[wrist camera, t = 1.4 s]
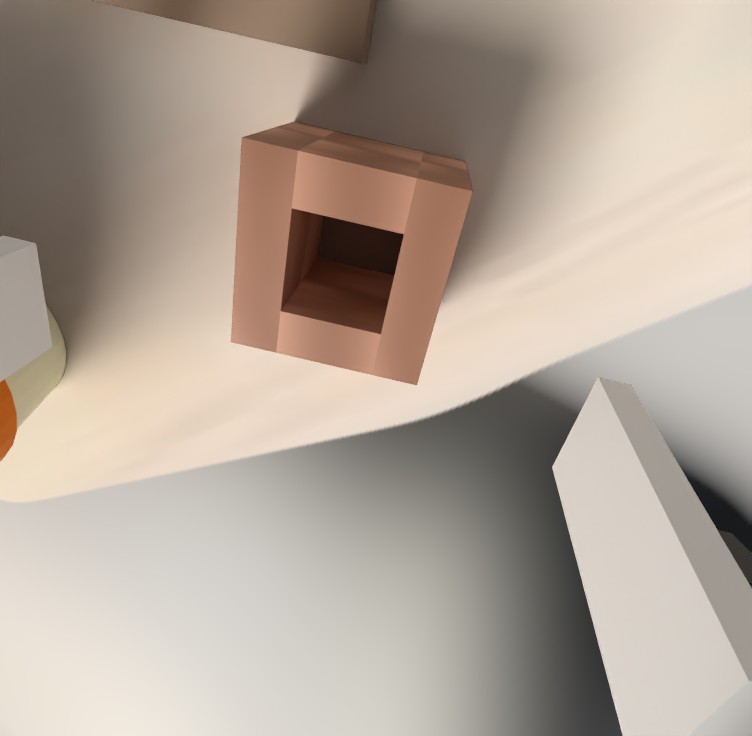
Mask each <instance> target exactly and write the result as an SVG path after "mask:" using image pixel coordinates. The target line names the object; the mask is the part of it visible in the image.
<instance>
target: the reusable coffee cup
mask: <svg viewBox="0 0 752 736" xmlns="http://www.w3.org/2000/svg"><path fill="white" fill-rule="evenodd" d="M46 309H47V316H48V322H49V328H50V335H51V341H52V348H50V349H49V350H47V351H46V352H44V353H43V354H41V355H40V356H38V357H37V358H35V359H34V360H32V361H31V362H29V363H28V364H26V365H25V366H23V367H22V368H20V369H19V370H17V371H16V372H14V373H13V374H11V375H10V376H8V377H7V378H5V379H4V380H2V381H1V382H0V461H1V460H2V459H3V458H4V457H5V455H6V454H7V452H8V451H9V449H10V448H11V447H12V445H13V442H14V439H15V435H16V432H17V428H18V427H19V426H20V425H21V424H22V423H23V422H24V421H25V420H26V419H27V417H28V416H29V415H30V414H31V413H32V412H33V411H34V410H35V409H36V408H37V406H38V405H39V404H40V403H41V402H42V401H43V400H44V399H45V398H46V397H47V395H48V394H49V393H50V392H51V391H52V390H53V389H54V388H55V387H56V385H57V384H58V383H59V381H60V380H61V378H62V376H63V373H64V370H65V367H66V348H65V343H64V338H63V336H62V333H61V331H60V328H59V325H58V323H57V321H56V320H55V318H54V316H53V315H52V313H51V311H50V310H49V308H48V307H47V306H46Z"/></svg>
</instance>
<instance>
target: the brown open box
mask: <svg viewBox="0 0 752 736" xmlns="http://www.w3.org/2000/svg"><path fill="white" fill-rule="evenodd" d="M472 192H473V190H472V186H471V182H470V178H469V174H468V171H467V167H466V163H465V161H461V160H456V159H452V158H448V157H443V156H439V155H435V154H430V153H426V152H422V151H418V150H413V149H409V148H405V147H400V146H396V145H392V144H388V143H383V142H379V141H375V140H370V139H366V138H362V137H357V136H353V135H349V134H345V133H340V132H336V131H332V130H327V129H323V128H319V127H314V126H310V125H306V124H302V123H297V122H291V123H288V124H285V125H282V126H278V127H275V128H272V129H268V130H265V131H262V132H259V133H255V134H252V135H249V136H245V137H242V145H241V164H240V183H239V201H238V220H237V239H236V257H235V276H234V295H233V314H232V332H231V342H233V343H237V344H242V345H246V346H250V347H254V348H259V349H263V350H267V351H272V352H276V353H280V354H285V355H289V356H293V357H297V358H302V359H306V360H310V361H315V362H319V363H323V364H328V365H332V366H336V367H340V368H345V369H349V370H353V371H358V372H362V373H366V374H371V375H375V376H379V377H383V378H388V379H392V380H396V381H401V382H405V383H409V384H414V385H417V383H418V379H419V376H420V372H421V369H422V365H423V362H424V358H425V355H426V351H427V348H428V345H429V341H430V338H431V334H432V331H433V327H434V324H435V320H436V317H437V313H438V310H439V306H440V303H441V300H442V296H443V293H444V289H445V286H446V282H447V279H448V275H449V272H450V268H451V265H452V261H453V258H454V255H455V251H456V248H457V244H458V241H459V237H460V234H461V230H462V227H463V223H464V220H465V216H466V213H467V210H468V206H469V203H470V199H471V196H472ZM323 216H328V217H332V218H336V219H340V220H345V221H349V222H353V223H358V224H362V225H366V226H370V227H375V228H379V229H383V230H388V231H392V232H396V233H401V234H404V236H403V240H402V245H401V249H400V253H399V258H398V262H397V266H396V271H395V275H390V274H385V273H381V272H377V271H373V270H368V269H364V268H360V267H355V266H351V265H347V264H342V263H338V262H334V261H330V260H325V259H321V258H318V252H319V245H320V238H321V231H322V224H323Z"/></svg>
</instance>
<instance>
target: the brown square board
mask: <svg viewBox="0 0 752 736" xmlns="http://www.w3.org/2000/svg"><path fill="white" fill-rule="evenodd" d="M92 1H97V2H101V3H105V4H110V5H114V6H118V7H123V8H127V9H131V10H135V11H140V12H144V13H148V14H153V15H157V16H161V17H166V18H170V19H174V20H178V21H183V22H187V23H191V24H196V25H200V26H204V27H208V28H213V29H217V30H221V31H226V32H230V33H234V34H239V35H243V36H247V37H251V38H256V39H260V40H264V41H269V42H273V43H277V44H281V45H286V46H290V47H294V48H299V49H303V50H307V51H312V52H316V53H320V54H324V55H329V56H333V57H337V58H342V59H346V60H350V61H354V62H359V63H364V64H367V59H368V53H369V47H370V41H371V35H372V28H373V22H374V16H375V10H376V4H377V0H92Z"/></svg>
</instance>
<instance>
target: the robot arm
mask: <svg viewBox="0 0 752 736" xmlns="http://www.w3.org/2000/svg"><path fill="white" fill-rule="evenodd" d="M50 348H52V341H51V335H50V328H49V322H48V316H47V309H46V303H45V297H44V290H43V284H42V277H41V271H40V265H39V258H38V252H37V246H36V243H33V242H29V241H25V240H21V239H16V238H12V237H8V236H1V237H0V382H1V381H2V380H4V379H5V378H7V377H8V376H10V375H11V374H13V373H14V372H16V371H17V370H19V369H20V368H22V367H23V366H25V365H26V364H28V363H29V362H31V361H32V360H34V359H35V358H37V357H38V356H40V355H41V354H43V353H44V352H46V351H47V350H49V349H50ZM552 468H553V472H554V476H555V480H556V483H557V487H558V491H559V495H560V498H561V502H562V506H563V509H564V514H565V518H566V521H567V525H568V529H569V533H570V536H571V540H572V544H573V548H574V551H575V556H576V559H577V563H578V567H579V570H580V575H581V578H582V582H583V586H584V590H585V594H586V597H587V601H588V605H589V609H590V613H591V616H592V620H593V624H594V628H595V632H596V635H597V639H598V643H599V647H600V650H601V654H602V658H603V662H604V666H605V670H606V673H607V677H608V681H609V685H610V689H611V693H612V696H613V700H614V704H615V708H616V712H617V715H618V719H619V723H620V727H621V731H622V734H623V736H752V553H751V552H750V551H749V550H748V549H747V548H746V547H745V546H744V545H743V544H742V543H741V542H740V541H739V540H738V539H737V538H736V537H735V536H734V535H733V534H731V533H728V532H723V531H719V530H717V529H716V527H715V525H714V524H713V522H712V520H711V519H710V517H709V515H708V514H707V512H706V510H705V509H704V507H703V505H702V504H701V502H700V500H699V498H698V497H697V495H696V493H695V492H694V490H693V488H692V487H691V485H690V483H689V482H688V480H687V478H686V477H685V475H684V473H683V471H682V470H681V468H680V467H679V465H678V463H677V461H676V460H675V458H674V456H673V455H672V453H671V451H670V450H669V448H668V446H667V444H666V443H665V441H664V439H663V438H662V436H661V434H660V433H659V431H658V429H657V428H656V426H655V424H654V423H653V421H652V419H651V418H650V416H649V414H648V413H647V411H646V409H645V407H644V406H643V404H642V402H641V401H640V399H639V397H638V396H637V394H636V392H635V391H634V389H633V387H632V385H629V384H625V383H620V382H616V381H612V380H608V379H604V378H599V377H598V378H597V380H596V382H595V384H594V387H593V388H592V390H591V392H590V394H589V396H588V398H587V400H586V402H585V404H584V406H583V408H582V410H581V412H580V414H579V416H578V418H577V420H576V422H575V424H574V425H573V428H572V429H571V431H570V433H569V435H568V437H567V440H566V441H565V443H564V445H563V447H562V449H561V451H560V453H559V455H558V457H557V459H556V461H555V463H554V465H553V467H552Z"/></svg>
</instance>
